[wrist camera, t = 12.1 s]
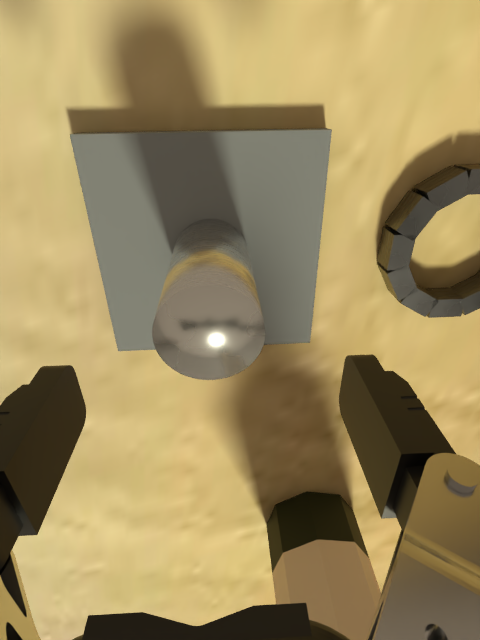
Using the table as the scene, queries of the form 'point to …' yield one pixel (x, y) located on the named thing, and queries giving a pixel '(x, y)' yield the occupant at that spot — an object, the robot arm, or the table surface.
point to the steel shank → (209, 304)
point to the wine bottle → (323, 562)
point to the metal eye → (402, 238)
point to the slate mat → (205, 215)
